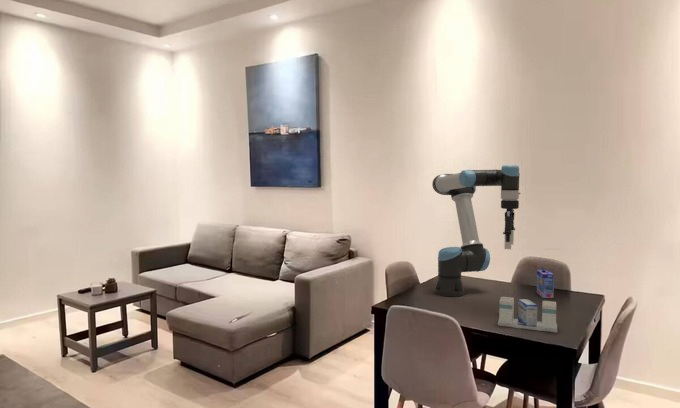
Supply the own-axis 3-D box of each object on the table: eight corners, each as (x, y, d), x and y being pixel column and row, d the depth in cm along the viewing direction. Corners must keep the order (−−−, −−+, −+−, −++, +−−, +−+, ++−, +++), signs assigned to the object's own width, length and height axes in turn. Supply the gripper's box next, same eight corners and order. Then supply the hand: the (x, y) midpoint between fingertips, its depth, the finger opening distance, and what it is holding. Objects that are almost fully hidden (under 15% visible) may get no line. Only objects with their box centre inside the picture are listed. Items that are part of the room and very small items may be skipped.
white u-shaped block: (497, 325, 189) (498, 300, 189) (499, 319, 197) (500, 296, 196) (557, 332, 180) (557, 307, 179) (556, 326, 187) (557, 301, 187)
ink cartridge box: (535, 292, 238) (536, 265, 237) (547, 293, 238) (547, 265, 237) (542, 298, 229) (542, 269, 227) (553, 298, 228) (554, 269, 227)
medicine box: (517, 319, 192) (517, 299, 192) (527, 319, 193) (528, 298, 192) (526, 326, 185) (526, 304, 184) (537, 325, 185) (537, 304, 184)
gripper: (517, 201, 195) (516, 251, 196) (520, 198, 217) (519, 243, 219) (498, 201, 198) (497, 250, 199) (503, 197, 220) (502, 242, 222)
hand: (509, 246), depth 209 cm, fingers open, 13 cm apart
